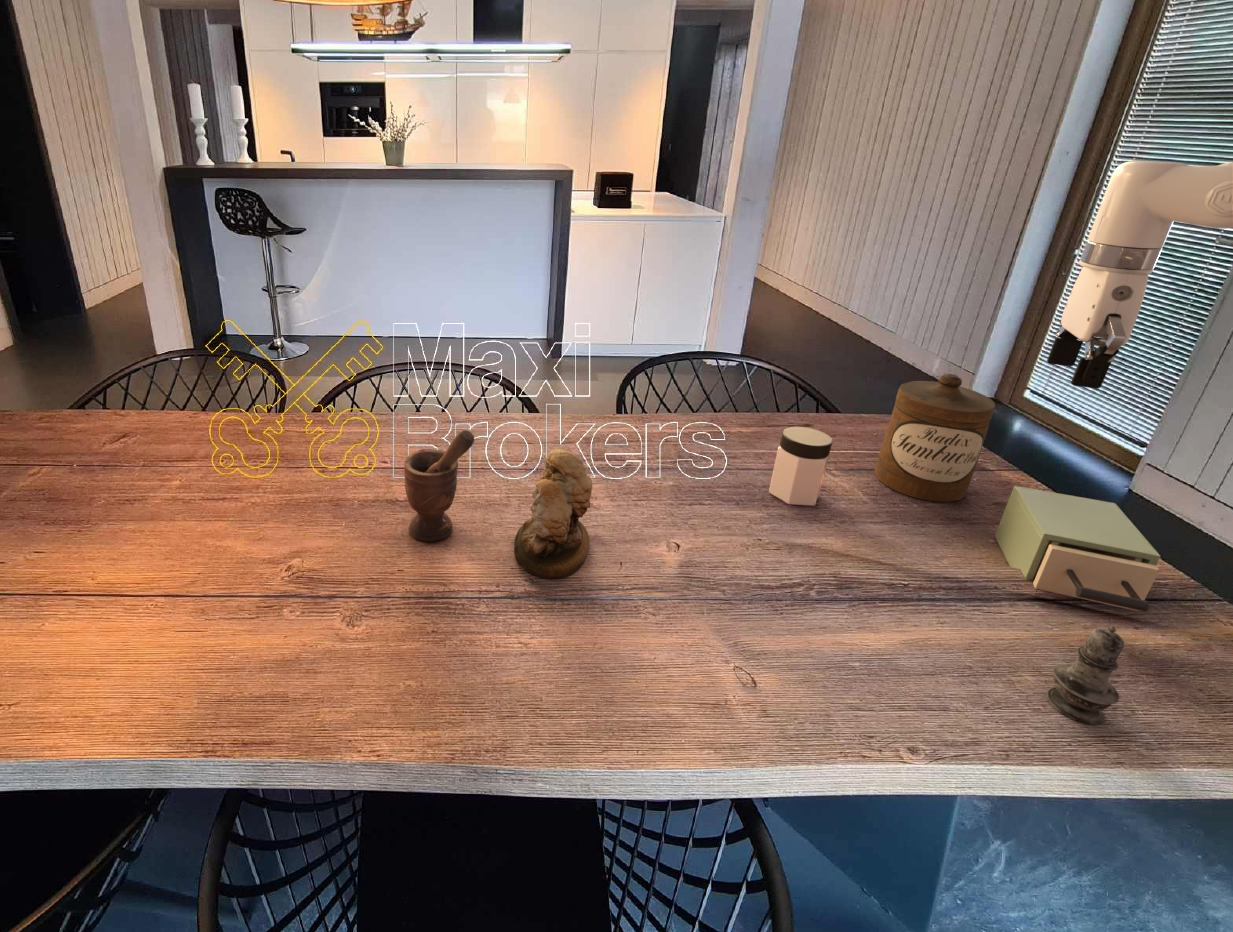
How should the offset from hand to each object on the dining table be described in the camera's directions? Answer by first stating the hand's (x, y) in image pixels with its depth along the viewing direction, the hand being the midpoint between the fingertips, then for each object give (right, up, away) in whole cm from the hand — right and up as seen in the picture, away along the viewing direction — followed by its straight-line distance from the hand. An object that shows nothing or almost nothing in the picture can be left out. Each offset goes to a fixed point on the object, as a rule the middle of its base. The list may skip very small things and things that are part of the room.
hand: (1071, 375), depth 97 cm
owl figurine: (-75, -27, +10) cm, 80 cm away
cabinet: (+3, -30, +5) cm, 31 cm away
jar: (-28, -21, +26) cm, 44 cm away
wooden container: (-2, -20, +30) cm, 36 cm away
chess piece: (-16, -40, -18) cm, 47 cm away
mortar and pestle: (-93, -26, +14) cm, 97 cm away
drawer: (0, -31, 0) cm, 31 cm away
